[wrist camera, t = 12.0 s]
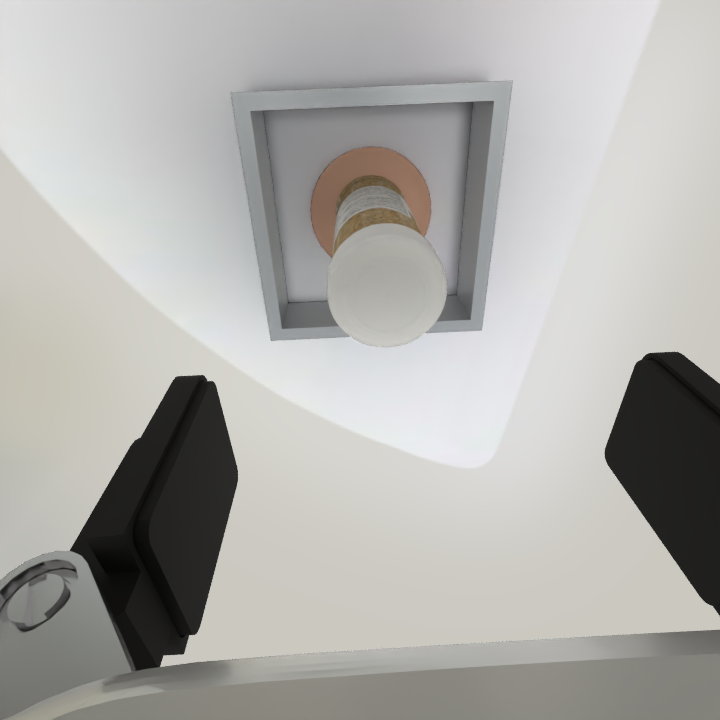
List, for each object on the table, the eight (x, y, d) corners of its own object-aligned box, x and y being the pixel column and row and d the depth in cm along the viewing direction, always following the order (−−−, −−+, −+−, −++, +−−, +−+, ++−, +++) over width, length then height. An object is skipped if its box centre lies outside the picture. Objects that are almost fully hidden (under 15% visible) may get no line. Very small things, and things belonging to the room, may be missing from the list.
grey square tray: (246, 92, 24) (230, 92, 21) (489, 82, 25) (512, 80, 21) (278, 313, 32) (270, 340, 28) (466, 304, 32) (481, 330, 28)
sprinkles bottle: (398, 251, 29) (432, 358, 18) (329, 241, 29) (319, 343, 17) (414, 179, 27) (465, 248, 15) (339, 166, 26) (335, 227, 15)
